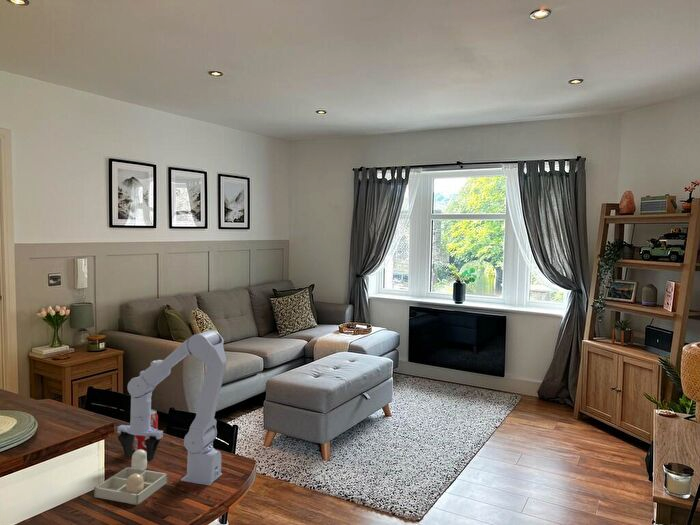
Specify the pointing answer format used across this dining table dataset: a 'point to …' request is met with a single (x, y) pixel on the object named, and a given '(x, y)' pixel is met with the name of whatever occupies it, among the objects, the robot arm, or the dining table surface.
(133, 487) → the brown egg
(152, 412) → the soda can
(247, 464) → the dining table surface
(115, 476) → the carton
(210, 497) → the dining table surface
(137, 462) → the white egg
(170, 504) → the dining table surface
